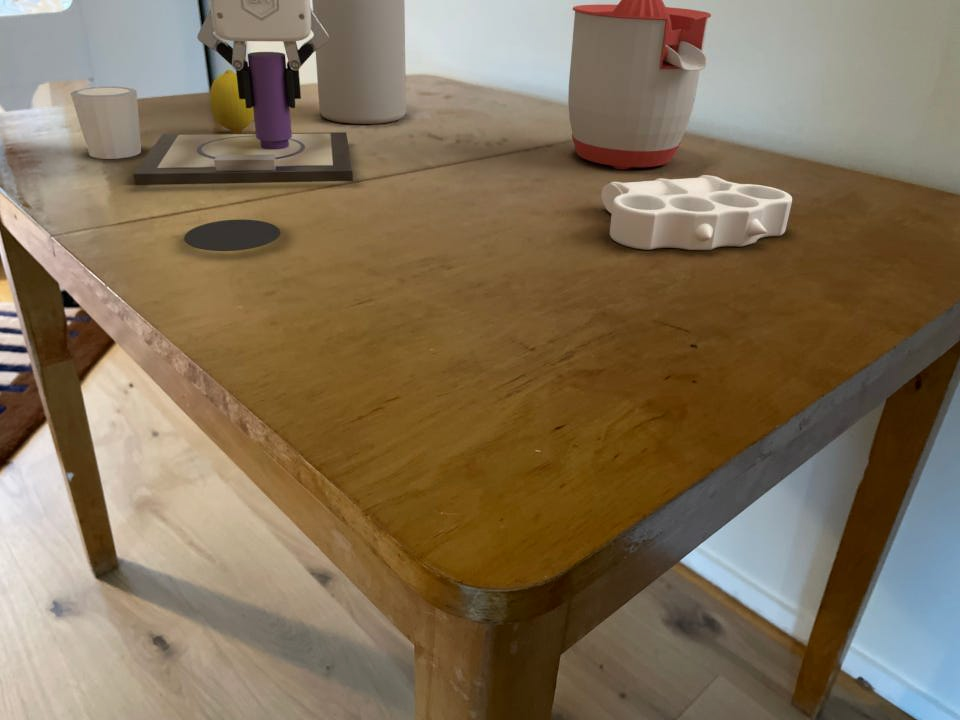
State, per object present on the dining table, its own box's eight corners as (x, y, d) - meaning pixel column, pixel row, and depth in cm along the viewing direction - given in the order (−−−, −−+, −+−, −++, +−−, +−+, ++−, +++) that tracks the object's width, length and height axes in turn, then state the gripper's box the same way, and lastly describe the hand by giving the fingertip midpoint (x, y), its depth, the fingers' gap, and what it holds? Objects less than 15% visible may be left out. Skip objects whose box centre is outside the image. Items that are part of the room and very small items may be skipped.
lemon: (264, 136, 101) (258, 71, 97) (222, 141, 98) (214, 74, 94) (249, 128, 105) (243, 65, 101) (208, 132, 102) (200, 68, 98)
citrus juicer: (628, 186, 86) (653, -14, 77) (535, 150, 99) (547, -25, 89) (725, 169, 94) (759, -15, 84) (627, 139, 107) (647, -24, 97)
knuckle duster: (723, 198, 83) (818, 244, 71) (570, 211, 78) (646, 264, 66) (728, 166, 82) (827, 209, 70) (573, 177, 76) (651, 225, 64)
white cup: (69, 156, 90) (55, 92, 86) (113, 143, 95) (102, 83, 92) (117, 163, 88) (105, 98, 84) (159, 149, 94) (149, 89, 90)
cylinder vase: (404, 108, 120) (401, -78, 108) (408, 125, 110) (405, -79, 98) (321, 107, 119) (309, -81, 107) (317, 125, 108) (303, -82, 96)
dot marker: (256, 150, 88) (246, 56, 83) (258, 142, 92) (248, 51, 87) (292, 150, 89) (284, 56, 84) (293, 141, 92) (285, 51, 88)
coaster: (178, 256, 64) (177, 252, 63) (191, 224, 71) (190, 220, 70) (279, 253, 65) (278, 248, 65) (282, 222, 72) (281, 218, 72)
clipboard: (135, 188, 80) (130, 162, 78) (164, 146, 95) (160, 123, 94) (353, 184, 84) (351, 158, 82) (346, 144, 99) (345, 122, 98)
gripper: (160, -84, 75) (189, 113, 83) (337, -78, 78) (347, 112, 86) (172, -83, 81) (198, 100, 90) (335, -77, 84) (345, 99, 93)
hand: (271, 104), depth 88 cm, fingers closed on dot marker, 4 cm apart
